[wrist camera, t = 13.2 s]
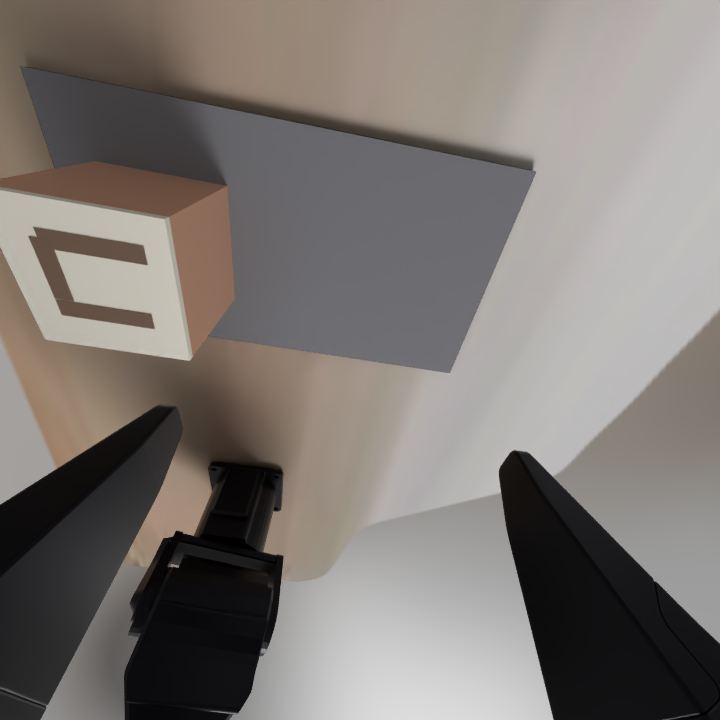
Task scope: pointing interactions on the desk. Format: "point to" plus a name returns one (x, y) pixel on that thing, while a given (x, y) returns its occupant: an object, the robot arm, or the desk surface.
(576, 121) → the desk surface
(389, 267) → the mat
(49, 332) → the cube
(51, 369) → the desk surface
